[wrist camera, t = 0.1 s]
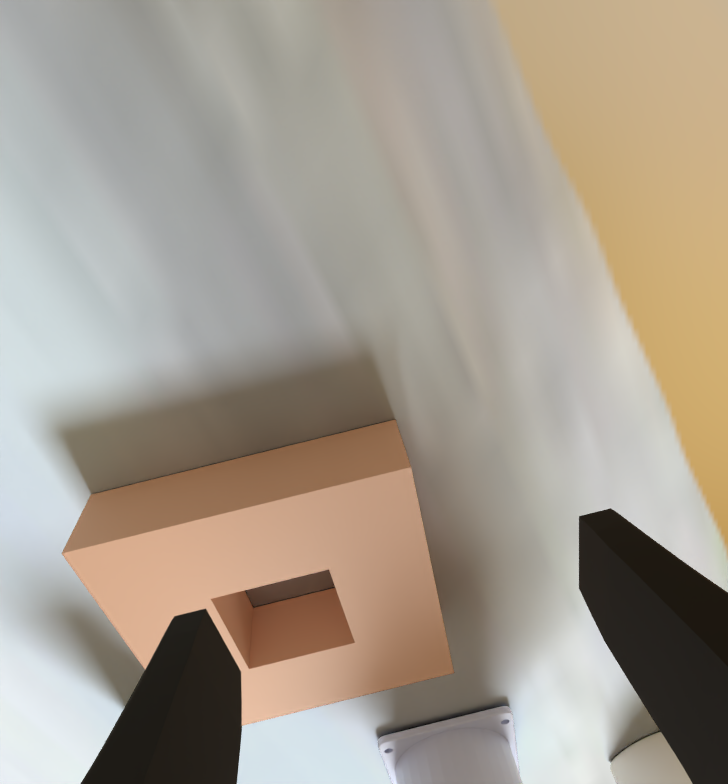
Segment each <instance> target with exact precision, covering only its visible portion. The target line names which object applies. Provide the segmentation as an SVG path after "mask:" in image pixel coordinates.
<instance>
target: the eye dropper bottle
mask: <svg viewBox="0 0 728 784" xmlns="http://www.w3.org/2000/svg"><path fill="white" fill-rule="evenodd" d="M610 769H611V772H612V774H613V776H614V779H615V781H616V783H617V784H693V783H692V782H691V780H690V778H689V777H688V775H687V773H686V771H685V770H684V768H683V766H682V765H681V763H680V761H679V760H678V758H677V757H676V755H675V753H674V752H673V750H672V749H671V747H670V745H669V744H668V742H667V741H666V739H665V737H664V736H663V734H662V733H661V732H658V733H655V734H653V735H650V736H648V737H646V738H643V739H641V740H640V741H638V742H636V743H634V744H632V745H631V746H629V747H628V748H626V749H625V750H624V751H622V752H621V753H620V754H619V755H617V756H616V757H615V758H614V759H613V761H612V762H611V765H610Z"/></svg>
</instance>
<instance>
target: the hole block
mask: <svg viewBox="0 0 728 784" xmlns="http://www.w3.org/2000/svg"><path fill="white" fill-rule="evenodd" d="M62 555H63V556H64V557H65V559H66V560H67V562H68V563H69V564H70V566H71V567H72V569H73V570H74V571H75V573H76V574H77V576H78V577H79V578H80V580H81V581H82V583H83V584H84V585H85V587H86V588H87V590H88V591H89V592H90V594H91V595H92V596H93V598H94V599H95V601H96V602H97V603H98V605H99V606H100V608H101V609H102V610H103V612H104V613H105V615H106V616H107V617H108V619H109V620H110V622H111V623H112V624H113V626H114V627H115V628H116V630H117V631H118V633H119V634H120V635H121V637H122V638H123V640H124V641H125V642H126V644H127V645H128V647H129V648H130V649H131V651H132V652H133V654H134V655H135V656H136V658H137V659H138V661H139V662H140V663H141V665H142V666H143V667H144V669H146V667H147V666H148V664H149V662H150V660H151V658H152V656H153V654H154V652H155V650H156V649H157V647H158V645H159V643H160V641H161V639H162V637H163V635H164V633H165V631H166V630H167V628H168V626H169V624H170V622H171V621H172V619H173V618H174V616H177V615H181V614H185V613H189V612H193V611H198V610H202V609H206V610H207V611H208V613H209V615H210V617H211V619H212V620H213V622H214V624H215V626H216V628H217V629H218V631H219V633H220V635H221V636H222V638H223V640H224V642H225V644H226V645H227V647H228V649H229V651H230V653H231V654H232V656H233V658H234V660H235V662H236V663H237V665H238V667H239V669H240V671H241V691H242V726H243V725H247V724H251V723H255V722H259V721H263V720H267V719H271V718H275V717H279V716H283V715H287V714H291V713H295V712H299V711H303V710H307V709H311V708H315V707H319V706H323V705H327V704H331V703H335V702H339V701H343V700H347V699H352V698H356V697H360V696H364V695H368V694H372V693H376V692H380V691H384V690H388V689H392V688H396V687H400V686H404V685H408V684H412V683H416V682H420V681H424V680H428V679H432V678H436V677H440V676H444V675H448V674H452V673H454V670H453V665H452V660H451V656H450V651H449V646H448V641H447V636H446V632H445V627H444V622H443V617H442V613H441V608H440V603H439V598H438V593H437V589H436V584H435V579H434V574H433V570H432V565H431V560H430V555H429V550H428V546H427V541H426V536H425V531H424V526H423V522H422V517H421V512H420V507H419V503H418V498H417V493H416V488H415V483H414V479H413V474H412V469H411V465H410V462H409V459H408V456H407V453H406V450H405V447H404V444H403V441H402V438H401V435H400V432H399V429H398V426H397V423H396V420H391V421H387V422H383V423H379V424H375V425H371V426H367V427H363V428H359V429H355V430H351V431H347V432H343V433H338V434H334V435H330V436H326V437H322V438H318V439H314V440H310V441H306V442H302V443H298V444H294V445H290V446H286V447H282V448H278V449H274V450H270V451H266V452H262V453H257V454H253V455H249V456H245V457H241V458H237V459H233V460H229V461H225V462H221V463H217V464H213V465H209V466H205V467H201V468H197V469H193V470H189V471H185V472H181V473H176V474H172V475H168V476H164V477H160V478H156V479H152V480H148V481H144V482H140V483H136V484H132V485H128V486H124V487H120V488H116V489H112V490H108V491H104V492H99V493H95V494H91V495H90V498H89V500H88V502H87V504H86V506H85V508H84V510H83V512H82V514H81V516H80V518H79V520H78V522H77V524H76V526H75V528H74V530H73V532H72V534H71V536H70V538H69V540H68V542H67V544H66V546H65V548H64V550H63V552H62ZM325 570H329V571H330V574H331V577H332V580H333V582H334V585H335V588H332V589H328V590H324V591H320V592H315V593H311V594H307V595H303V596H299V597H295V598H291V599H287V600H283V601H279V602H275V603H271V604H267V605H263V606H259V607H255V608H253V606H252V604H251V602H250V600H249V598H248V596H247V594H246V592H245V590H248V589H252V588H256V587H260V586H264V585H268V584H273V583H277V582H281V581H285V580H289V579H293V578H297V577H301V576H305V575H309V574H313V573H317V572H321V571H325Z"/></svg>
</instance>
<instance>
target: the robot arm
mask: <svg viewBox="0 0 728 784" xmlns="http://www.w3.org/2000/svg"><path fill="white" fill-rule="evenodd" d="M579 589H580V591H581V593H582V595H583V597H584V600H585V602H586V604H587V606H588V608H589V610H590V612H591V614H592V617H593V619H594V621H595V623H596V625H597V627H598V629H599V631H600V633H601V635H602V637H603V639H604V641H605V642H606V644H607V646H608V647H609V649H610V651H611V652H612V654H613V656H614V657H615V659H616V660H617V662H618V664H619V665H620V667H621V669H622V670H623V672H624V673H625V675H626V677H627V678H628V680H629V681H630V683H631V685H632V686H633V688H634V689H635V691H636V693H637V694H638V696H639V697H640V699H641V701H642V702H643V704H644V705H645V707H646V709H647V710H648V712H649V713H650V715H651V717H652V718H653V720H654V721H655V723H656V725H657V726H658V728H659V729H660V731H661V733H662V734H663V736H664V737H665V739H666V741H667V742H668V744H669V745H670V747H671V749H672V750H673V752H674V753H675V755H676V757H677V758H678V760H679V761H680V763H681V765H682V766H683V768H684V770H685V771H686V773H687V775H688V777H689V778H690V780H691V782H692V783H693V784H728V592H726V591H725V590H723V589H722V588H720V587H719V586H717V585H716V584H714V583H713V582H711V581H710V580H709V579H707V578H706V577H704V576H703V575H701V574H700V573H698V572H697V571H696V570H694V569H693V568H691V567H690V566H689V565H687V564H686V563H684V562H683V561H682V560H680V559H679V558H678V557H676V556H675V555H673V554H672V553H671V552H669V551H668V550H667V549H665V548H664V547H662V546H661V545H660V544H658V543H657V542H656V541H654V540H653V539H652V538H650V537H649V536H648V535H646V534H645V533H644V532H642V531H641V530H640V529H638V528H637V527H636V526H634V525H633V524H632V523H630V522H629V521H628V520H626V519H625V518H624V517H622V516H621V515H620V514H618V513H617V512H615V511H614V510H612V509H607V510H603V511H599V512H595V513H591V514H587V515H583V516H579ZM241 732H242V691H241V671H240V669H239V667H238V665H237V663H236V662H235V660H234V658H233V656H232V654H231V653H230V651H229V649H228V647H227V645H226V644H225V642H224V640H223V638H222V636H221V635H220V633H219V631H218V629H217V628H216V626H215V624H214V622H213V620H212V619H211V617H210V615H209V613H208V611H207V610H206V609H202V610H198V611H193V612H189V613H185V614H181V615H177V616H174V618H173V619H172V621H171V622H170V624H169V626H168V628H167V630H166V631H165V633H164V635H163V637H162V639H161V641H160V643H159V645H158V647H157V649H156V650H155V652H154V654H153V656H152V658H151V660H150V662H149V664H148V666H147V667H146V669H145V671H144V673H143V675H142V677H141V679H140V681H139V682H138V684H137V686H136V688H135V690H134V692H133V694H132V695H131V697H130V699H129V701H128V703H127V705H126V706H125V708H124V710H123V712H122V713H121V715H120V717H119V719H118V721H117V722H116V724H115V726H114V728H113V730H112V731H111V733H110V735H109V737H108V738H107V740H106V742H105V744H104V746H103V747H102V749H101V751H100V753H99V754H98V756H97V758H96V759H95V761H94V763H93V764H92V766H91V768H90V769H89V771H88V773H87V774H86V776H85V778H84V779H83V781H82V782H81V784H237V774H238V763H239V753H240V743H241ZM378 748H379V750H380V753H381V756H382V758H383V761H384V764H385V766H386V769H387V771H388V774H389V777H390V779H391V782H392V784H523V783H522V780H521V777H520V772H519V763H518V755H517V747H516V738H515V730H514V722H513V714H512V711H511V709H510V707H508V706H500V707H496V708H492V709H488V710H484V711H480V712H476V713H472V714H468V715H464V716H460V717H456V718H452V719H448V720H444V721H440V722H436V723H432V724H428V725H424V726H420V727H416V728H412V729H408V730H404V731H400V732H396V733H392V734H388V735H384V736H382V737H380V738H379V739H378Z"/></svg>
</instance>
